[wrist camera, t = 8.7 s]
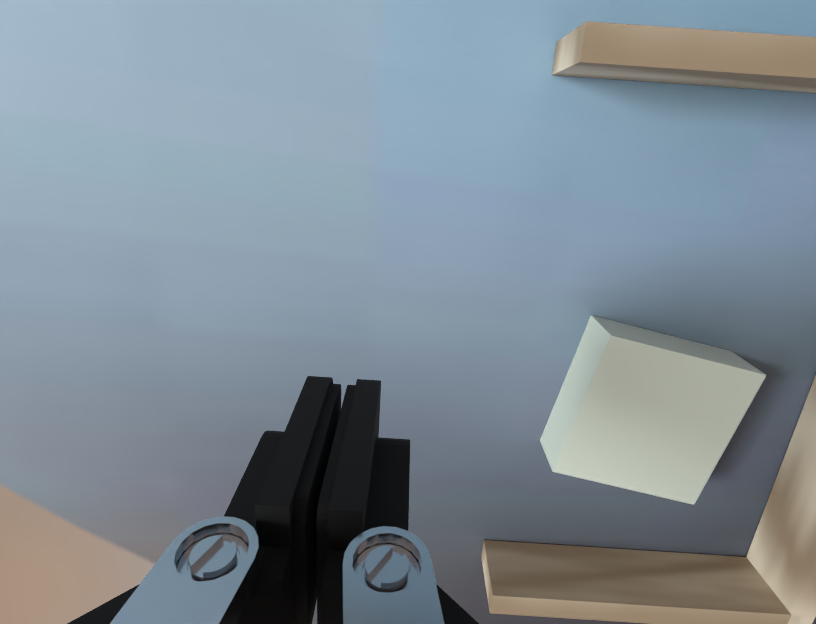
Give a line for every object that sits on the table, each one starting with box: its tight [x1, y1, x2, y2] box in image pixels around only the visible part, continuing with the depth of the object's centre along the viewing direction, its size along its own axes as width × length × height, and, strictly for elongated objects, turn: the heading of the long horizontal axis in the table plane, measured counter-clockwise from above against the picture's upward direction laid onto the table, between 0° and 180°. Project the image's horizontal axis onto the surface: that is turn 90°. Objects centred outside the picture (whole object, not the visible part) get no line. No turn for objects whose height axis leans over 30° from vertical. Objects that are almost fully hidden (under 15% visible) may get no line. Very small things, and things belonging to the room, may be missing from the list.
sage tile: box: [540, 315, 766, 505], centre depth 20 cm, size 6×6×2 cm
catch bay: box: [481, 21, 816, 624], centre depth 19 cm, size 22×14×3 cm, turn 176°
